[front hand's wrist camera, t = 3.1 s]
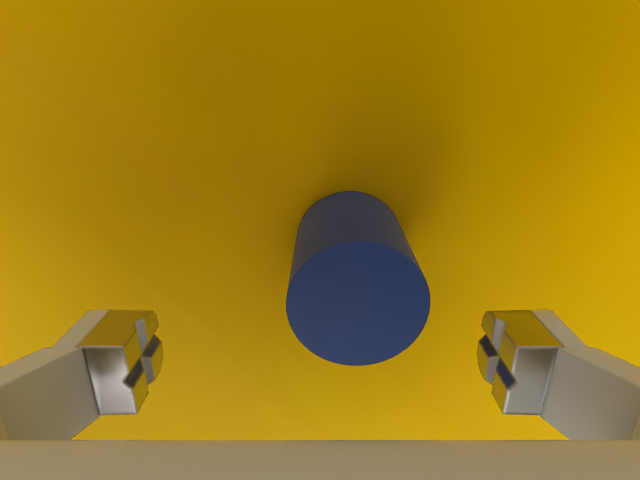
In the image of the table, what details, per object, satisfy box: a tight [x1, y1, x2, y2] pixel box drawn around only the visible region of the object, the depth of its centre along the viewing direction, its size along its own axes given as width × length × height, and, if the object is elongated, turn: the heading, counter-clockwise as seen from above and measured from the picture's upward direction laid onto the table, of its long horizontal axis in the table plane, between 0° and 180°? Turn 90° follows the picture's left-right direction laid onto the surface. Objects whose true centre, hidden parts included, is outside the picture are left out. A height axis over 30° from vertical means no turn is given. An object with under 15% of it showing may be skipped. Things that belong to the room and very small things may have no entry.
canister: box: [286, 191, 430, 366], centre depth 13 cm, size 4×4×4 cm
